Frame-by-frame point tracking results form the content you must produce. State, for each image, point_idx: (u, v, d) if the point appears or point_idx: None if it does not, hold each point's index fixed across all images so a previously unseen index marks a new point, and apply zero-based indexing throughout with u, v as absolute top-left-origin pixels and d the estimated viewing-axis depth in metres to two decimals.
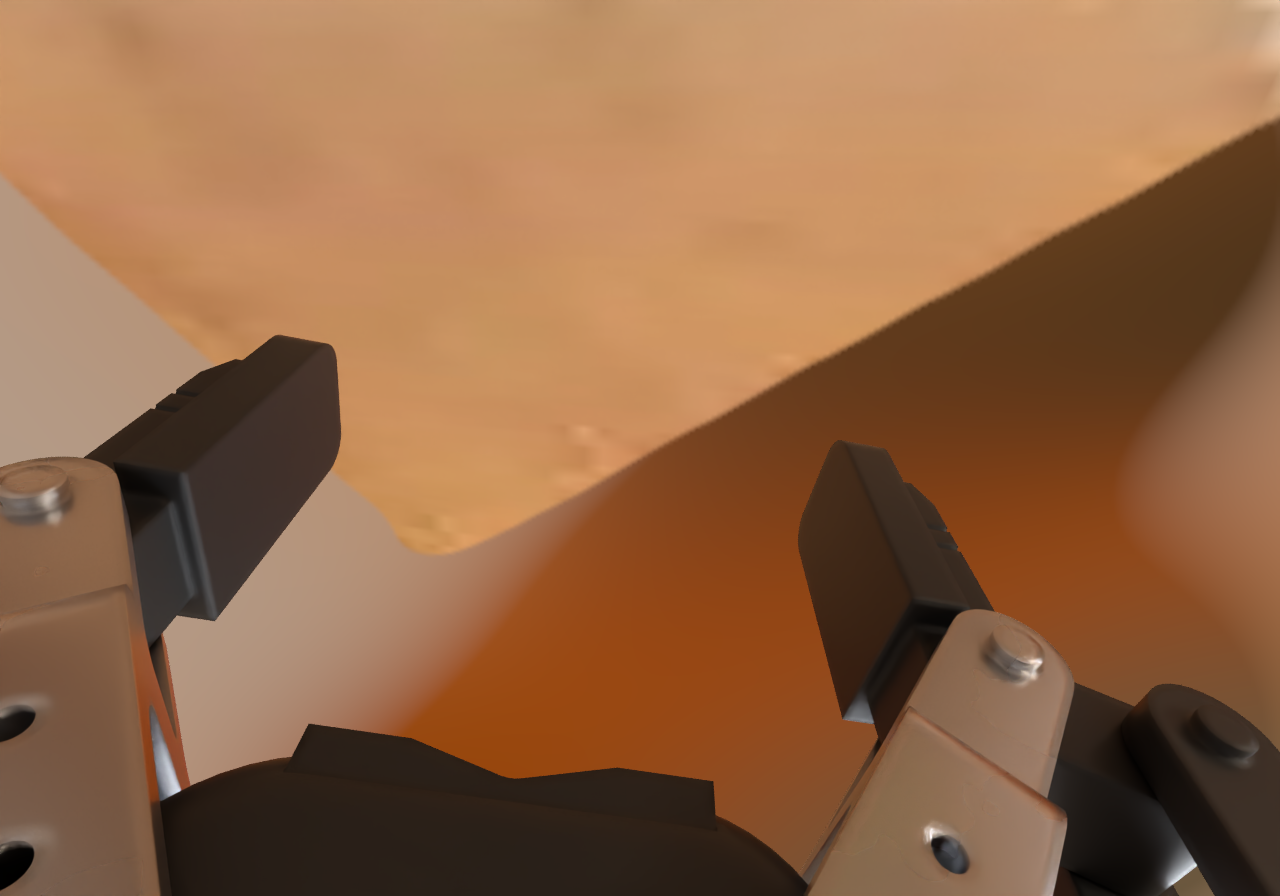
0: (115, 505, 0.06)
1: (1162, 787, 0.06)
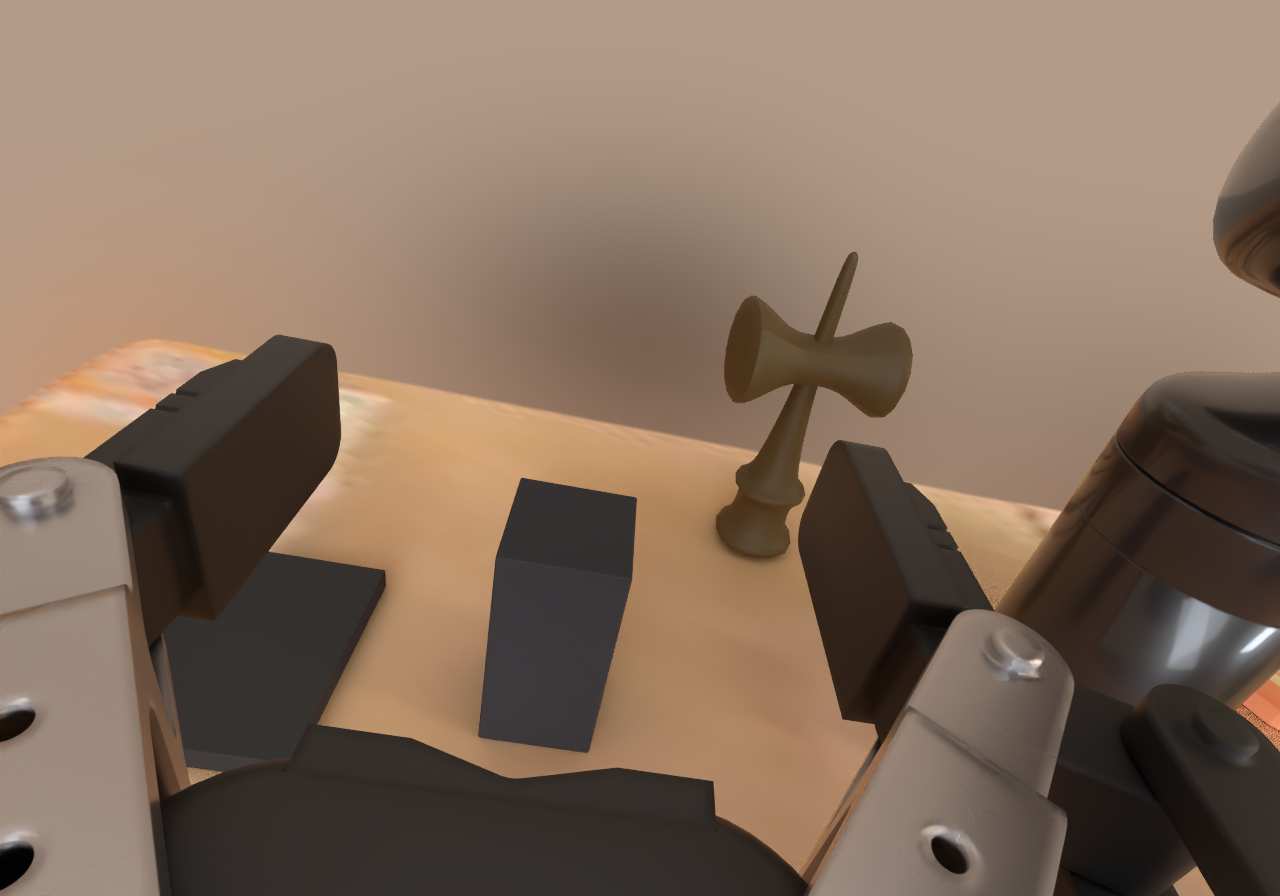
0: (115, 505, 0.06)
1: (1162, 787, 0.06)
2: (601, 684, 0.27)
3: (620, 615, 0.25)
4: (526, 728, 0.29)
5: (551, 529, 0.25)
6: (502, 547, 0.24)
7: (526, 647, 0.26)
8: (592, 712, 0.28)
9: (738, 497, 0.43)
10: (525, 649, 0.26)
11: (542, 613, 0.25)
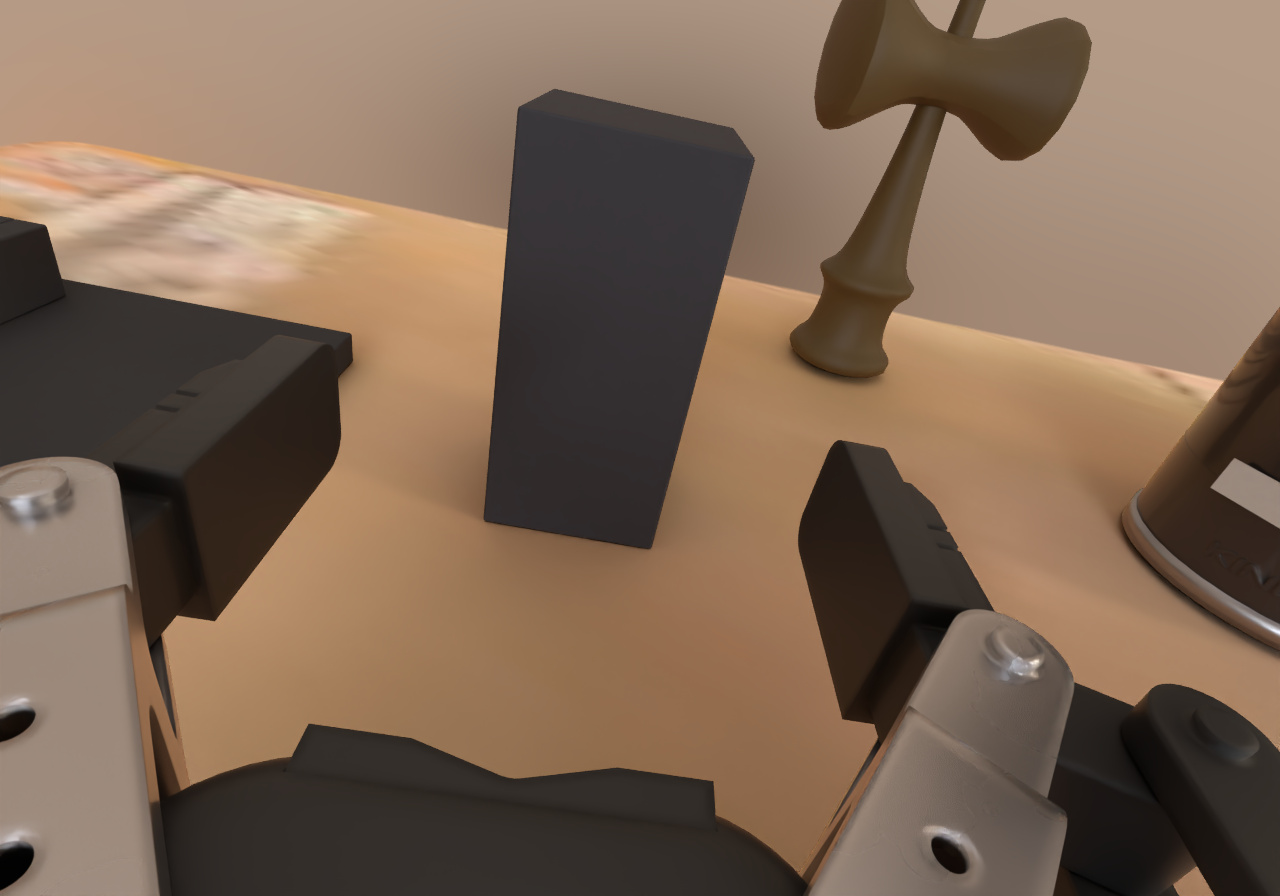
0: (115, 505, 0.06)
1: (1162, 787, 0.06)
2: (682, 407, 0.17)
3: (727, 248, 0.15)
4: (558, 501, 0.19)
5: (609, 114, 0.15)
6: (528, 105, 0.14)
7: (565, 327, 0.16)
8: (662, 468, 0.18)
9: (823, 297, 0.33)
10: (562, 331, 0.16)
11: (594, 246, 0.15)
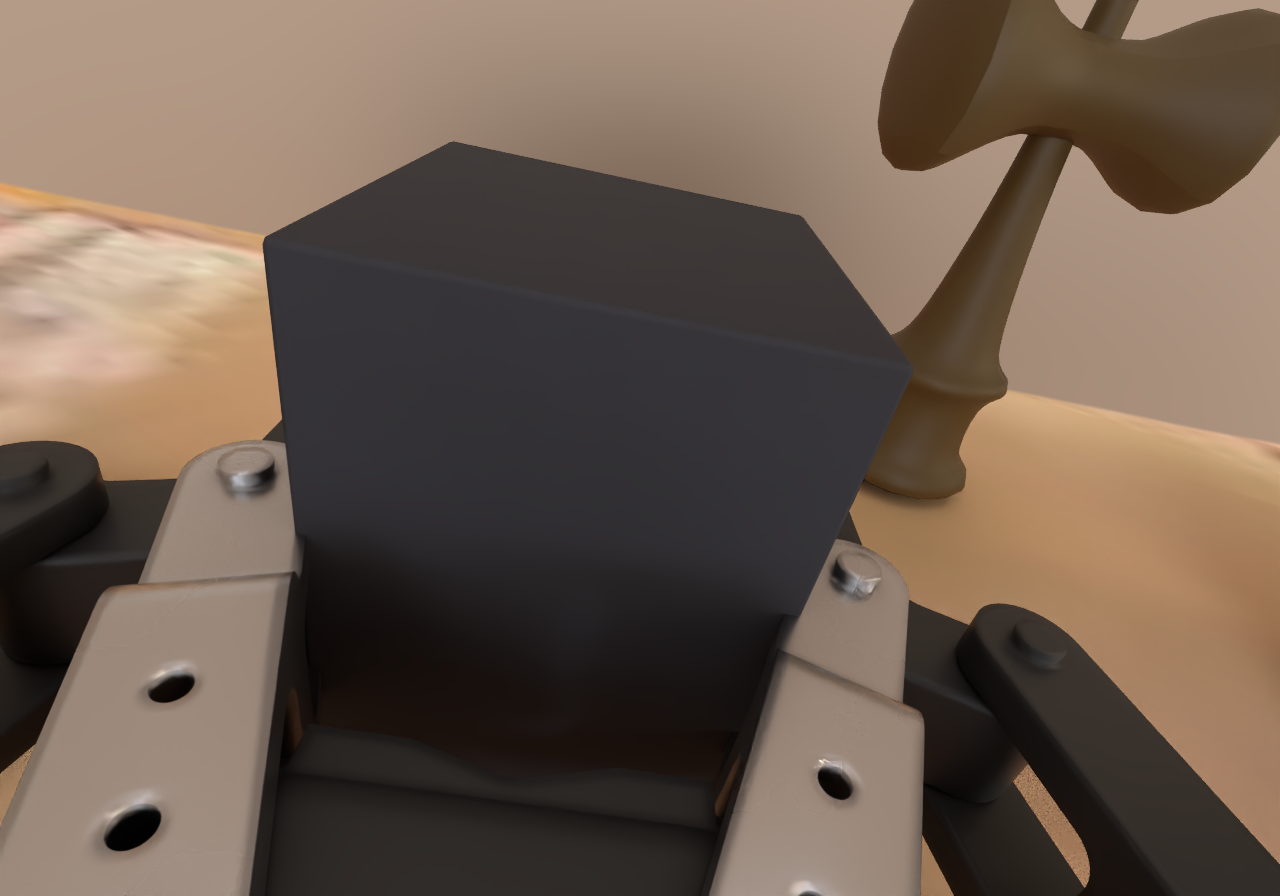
0: None
1: (978, 690, 0.07)
2: None
3: (822, 551, 0.06)
4: None
5: (541, 220, 0.07)
6: (311, 222, 0.05)
7: (451, 677, 0.07)
8: None
9: None
10: (446, 682, 0.07)
11: (503, 542, 0.06)
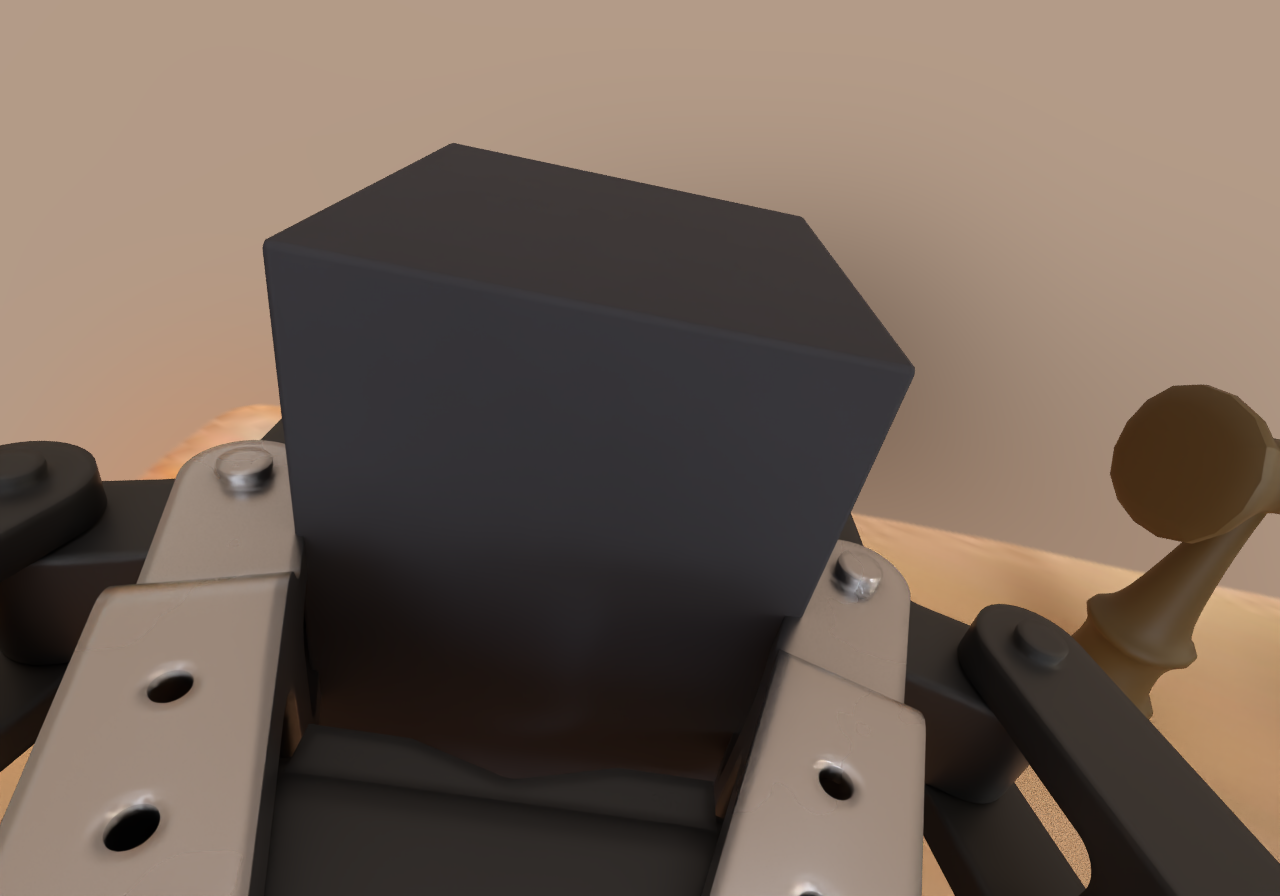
0: None
1: (979, 691, 0.07)
2: None
3: (823, 553, 0.06)
4: None
5: (542, 222, 0.07)
6: (312, 224, 0.05)
7: (452, 679, 0.07)
8: None
9: (1090, 644, 0.31)
10: (447, 684, 0.07)
11: (504, 545, 0.06)
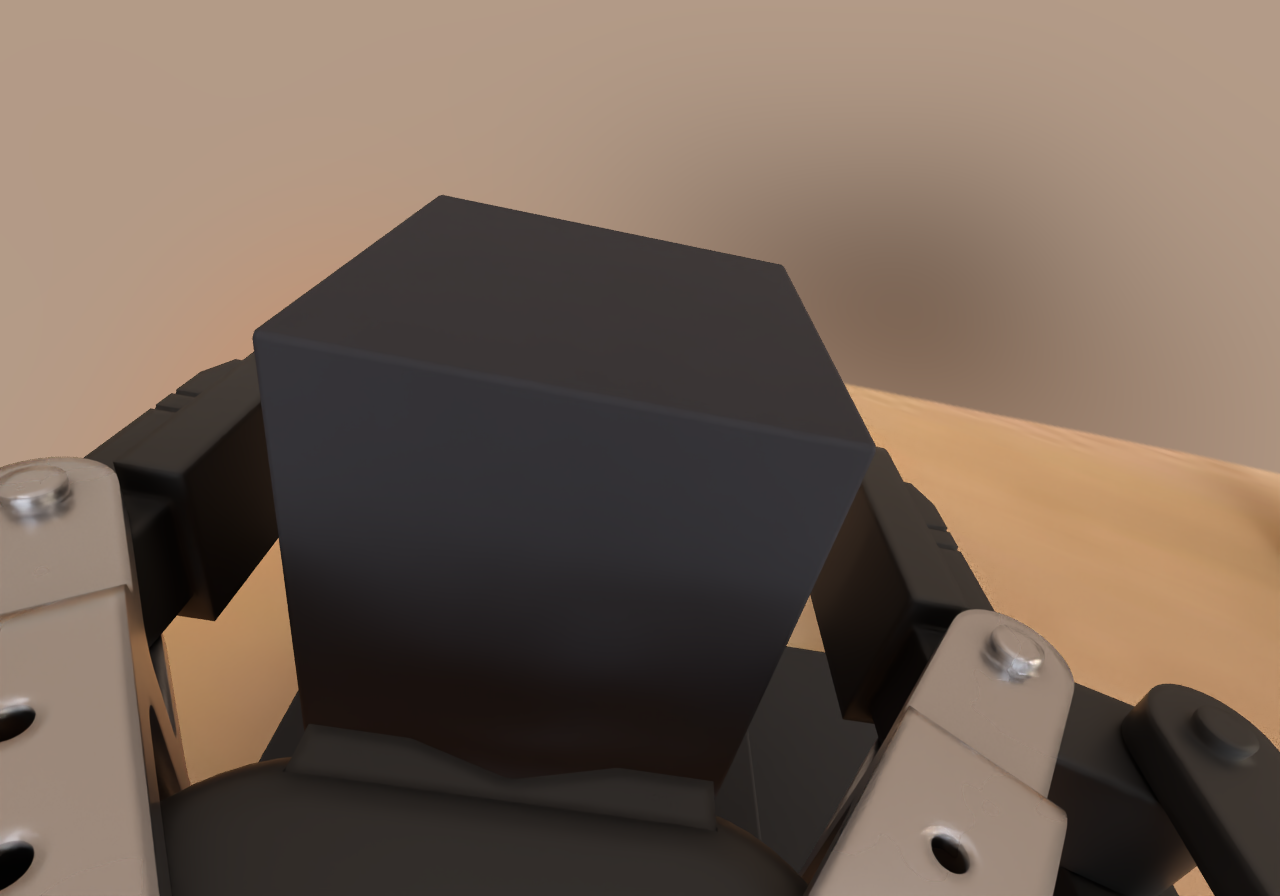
0: (115, 504, 0.06)
1: (1162, 787, 0.06)
2: None
3: (793, 612, 0.06)
4: None
5: (524, 288, 0.07)
6: (300, 308, 0.05)
7: (439, 725, 0.07)
8: None
9: None
10: (433, 731, 0.08)
11: (488, 604, 0.06)
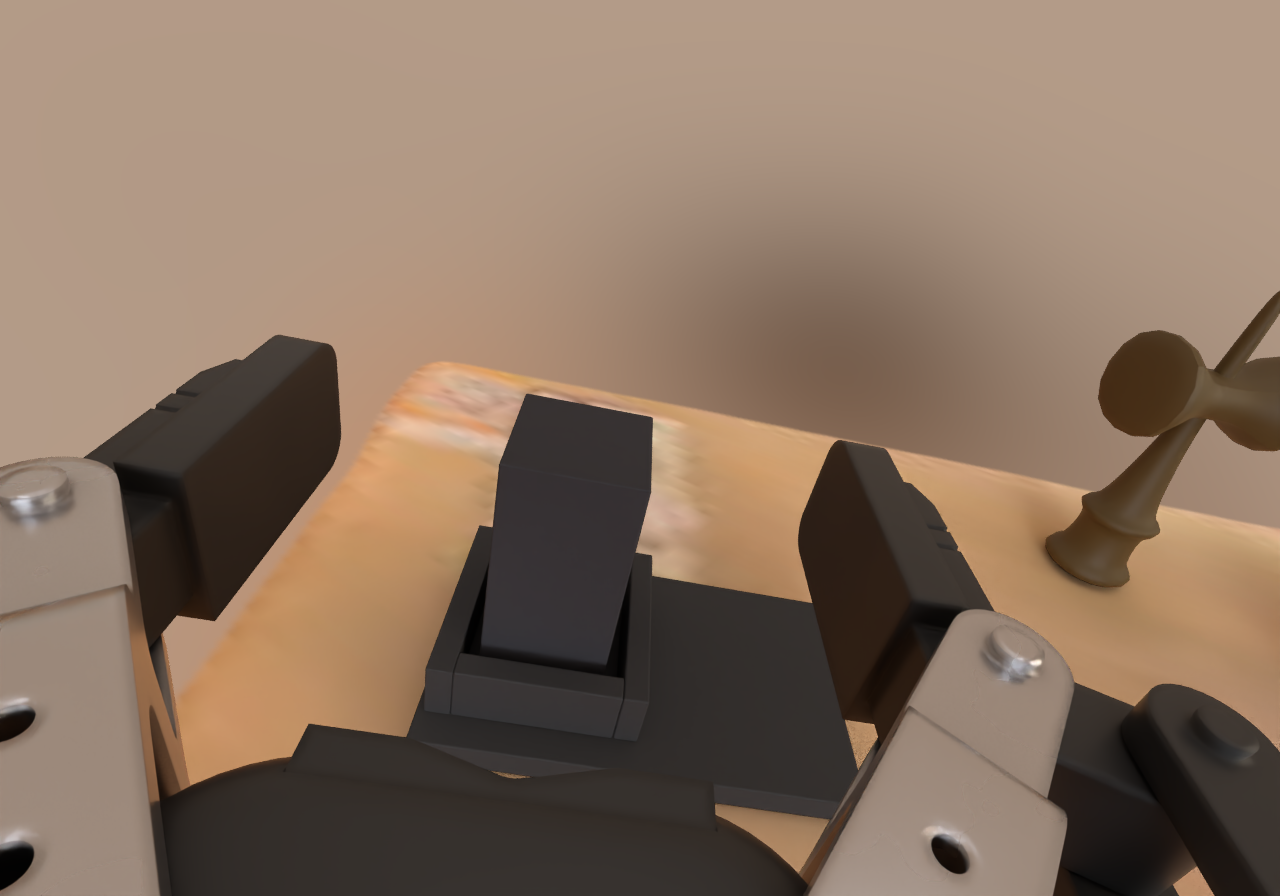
0: (115, 505, 0.06)
1: (1162, 787, 0.06)
2: (613, 619, 0.25)
3: (636, 536, 0.23)
4: None
5: (560, 441, 0.23)
6: (506, 455, 0.22)
7: (531, 575, 0.24)
8: (602, 653, 0.26)
9: (1084, 527, 0.43)
10: (529, 577, 0.24)
11: (550, 533, 0.23)
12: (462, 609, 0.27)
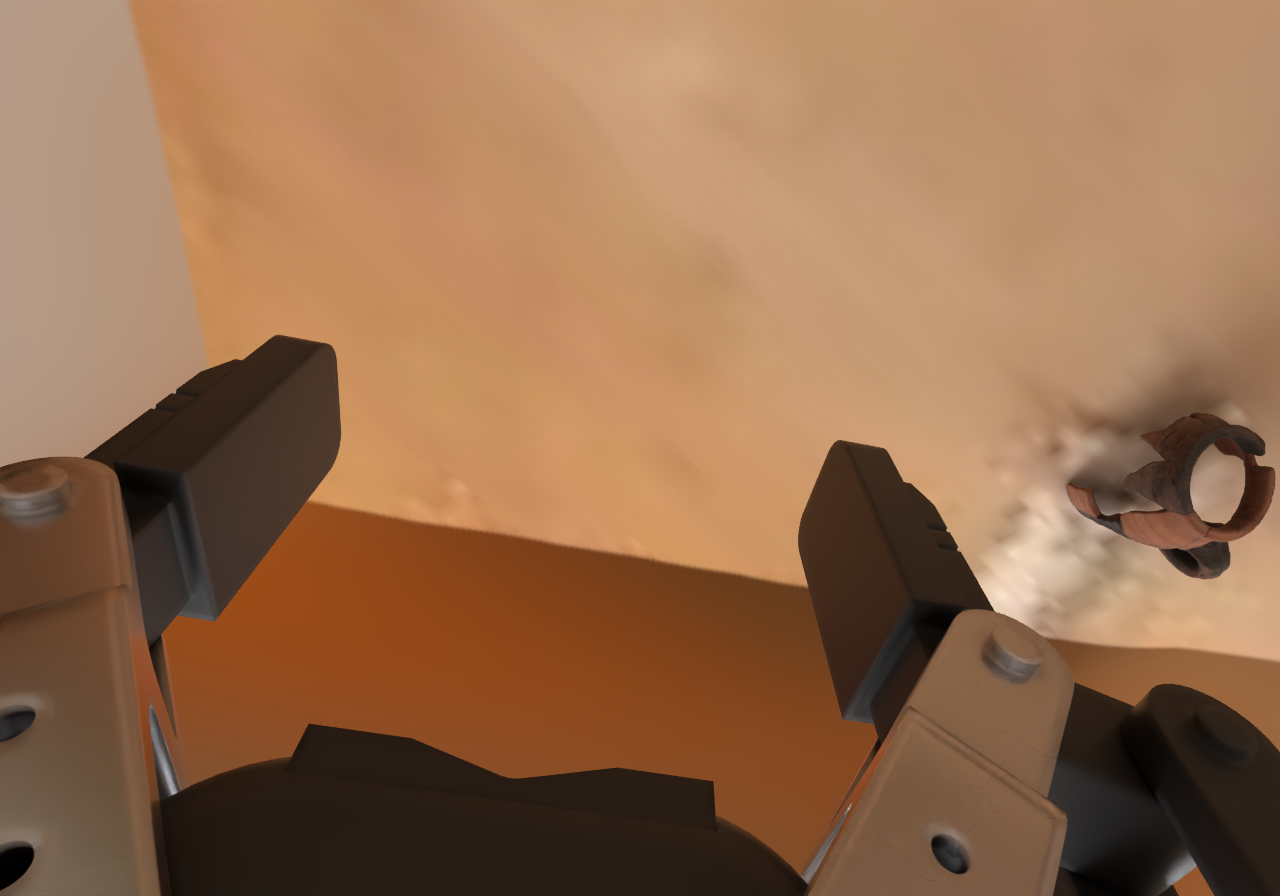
0: (115, 505, 0.06)
1: (1162, 787, 0.06)
2: None
3: None
4: None
5: None
6: None
7: None
8: None
9: None
10: None
11: None
12: None
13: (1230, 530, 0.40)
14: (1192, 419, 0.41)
